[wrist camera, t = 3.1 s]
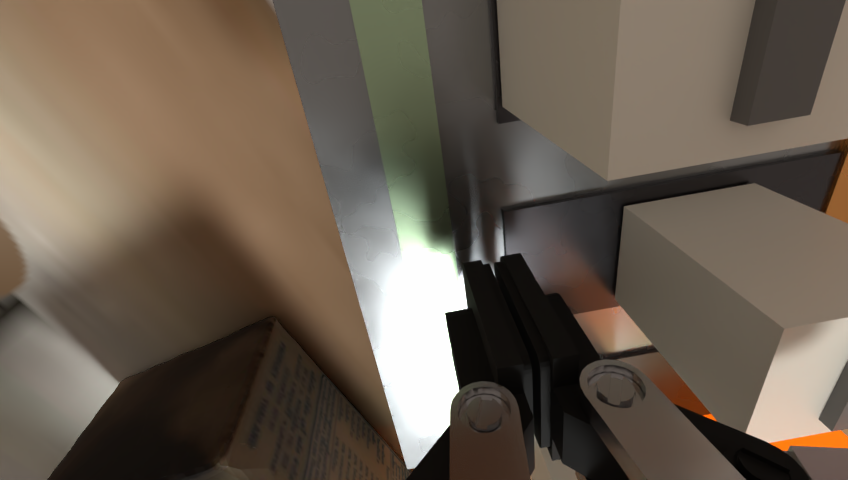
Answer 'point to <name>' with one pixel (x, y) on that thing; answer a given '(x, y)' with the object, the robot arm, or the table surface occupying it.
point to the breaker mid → (744, 305)
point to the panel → (477, 190)
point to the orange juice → (811, 440)
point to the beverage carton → (231, 420)
